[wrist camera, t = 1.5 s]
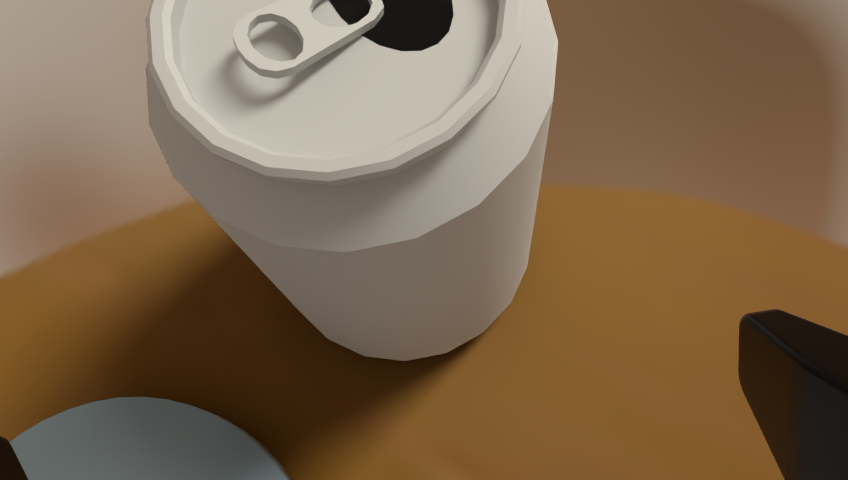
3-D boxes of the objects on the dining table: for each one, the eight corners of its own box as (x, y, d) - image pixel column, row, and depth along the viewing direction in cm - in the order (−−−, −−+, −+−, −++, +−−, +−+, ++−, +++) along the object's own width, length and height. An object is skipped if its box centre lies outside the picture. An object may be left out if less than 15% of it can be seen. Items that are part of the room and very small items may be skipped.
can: (581, 262, 23) (671, 15, 11) (380, 420, 22) (261, 317, 10) (429, 94, 25) (379, -248, 14) (241, 228, 24) (21, -25, 13)
